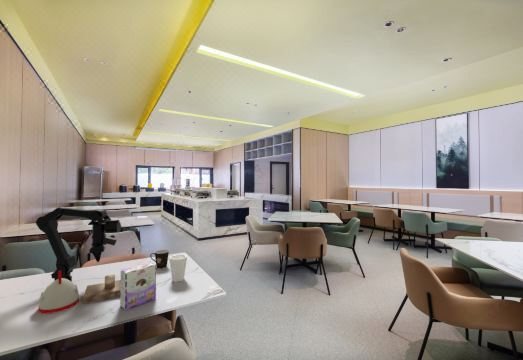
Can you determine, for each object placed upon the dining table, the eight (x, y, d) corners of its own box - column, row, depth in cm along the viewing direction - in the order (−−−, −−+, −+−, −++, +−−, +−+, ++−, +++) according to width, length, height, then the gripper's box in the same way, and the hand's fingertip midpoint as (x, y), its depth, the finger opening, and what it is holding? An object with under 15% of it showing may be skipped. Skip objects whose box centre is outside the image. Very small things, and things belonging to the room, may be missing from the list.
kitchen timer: (77, 295, 117) (78, 264, 117) (80, 306, 107) (80, 272, 107) (39, 304, 108) (39, 271, 108) (37, 317, 98) (38, 280, 98)
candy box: (150, 295, 117) (150, 261, 117) (156, 298, 113) (156, 264, 114) (119, 306, 107) (120, 269, 107) (125, 310, 103) (125, 272, 103)
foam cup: (165, 282, 133) (165, 258, 133) (175, 275, 142) (175, 253, 142) (180, 283, 130) (181, 260, 131) (189, 277, 139) (189, 255, 140)
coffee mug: (171, 266, 158) (171, 251, 158) (159, 270, 151) (160, 254, 151) (160, 262, 164) (160, 248, 164) (148, 266, 157) (149, 251, 157)
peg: (114, 293, 119) (115, 276, 119) (104, 295, 117) (104, 278, 117) (115, 289, 123) (115, 273, 123) (104, 291, 120) (104, 275, 121)
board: (83, 303, 108) (83, 297, 109) (87, 291, 121) (87, 285, 121) (123, 295, 117) (123, 289, 117) (123, 284, 129) (123, 279, 129)
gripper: (115, 234, 125) (115, 264, 125) (116, 228, 141) (116, 255, 141) (89, 236, 119) (88, 268, 119) (93, 230, 135) (93, 257, 135)
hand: (98, 261), depth 129 cm, fingers closed
